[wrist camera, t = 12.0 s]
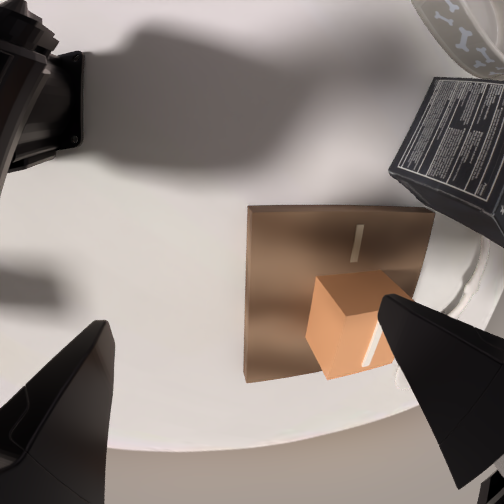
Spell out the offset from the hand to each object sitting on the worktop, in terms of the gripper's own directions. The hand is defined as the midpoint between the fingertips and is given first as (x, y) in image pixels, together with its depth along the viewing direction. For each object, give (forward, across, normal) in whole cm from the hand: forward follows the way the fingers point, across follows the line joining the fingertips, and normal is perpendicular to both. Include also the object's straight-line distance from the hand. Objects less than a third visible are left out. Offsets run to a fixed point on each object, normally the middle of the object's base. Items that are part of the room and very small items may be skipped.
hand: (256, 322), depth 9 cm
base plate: (+12, -10, +8) cm, 18 cm away
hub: (+10, -10, +8) cm, 17 cm away
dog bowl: (+12, -23, -23) cm, 35 cm away
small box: (+12, -18, -6) cm, 23 cm away
